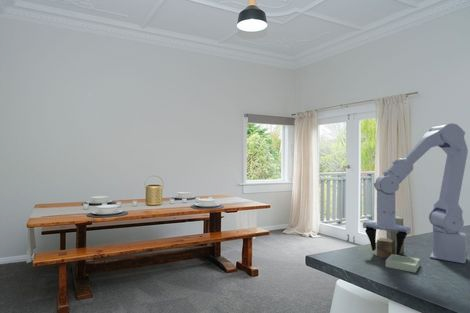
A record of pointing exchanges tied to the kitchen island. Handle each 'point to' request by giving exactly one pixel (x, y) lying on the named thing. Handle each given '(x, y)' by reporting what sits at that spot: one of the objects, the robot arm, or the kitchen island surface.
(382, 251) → the walnut block
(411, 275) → the kitchen island surface
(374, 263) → the kitchen island surface
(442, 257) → the robot arm
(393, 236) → the skincare box
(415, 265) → the base slab
